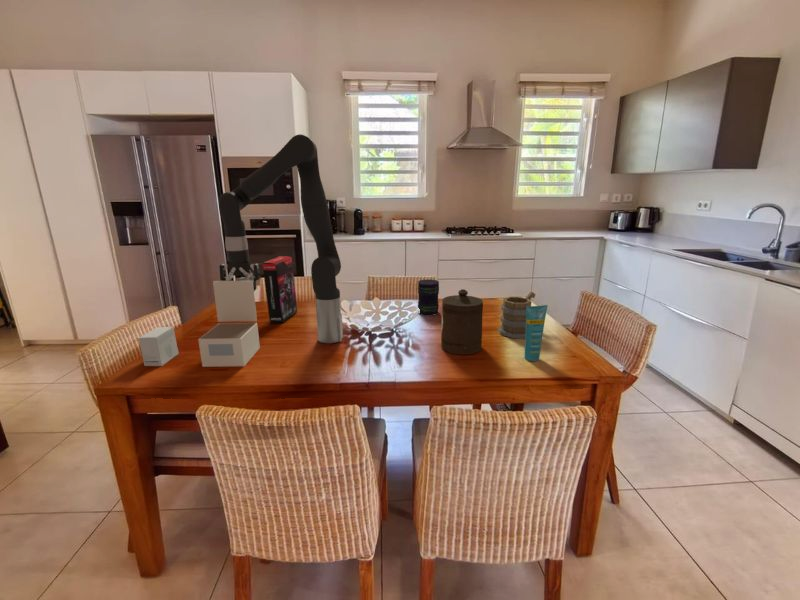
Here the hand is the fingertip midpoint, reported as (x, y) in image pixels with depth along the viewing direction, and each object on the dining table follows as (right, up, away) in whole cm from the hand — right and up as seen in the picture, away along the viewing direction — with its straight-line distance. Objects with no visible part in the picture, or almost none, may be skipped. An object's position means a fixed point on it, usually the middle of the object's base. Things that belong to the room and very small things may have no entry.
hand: (242, 291), depth 152 cm
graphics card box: (+6, -12, +33) cm, 36 cm away
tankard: (+109, -16, +14) cm, 111 cm away
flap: (0, -4, -7) cm, 8 cm away
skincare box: (-24, -24, -11) cm, 36 cm away
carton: (0, -23, -9) cm, 25 cm away
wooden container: (+82, -21, -2) cm, 85 cm away
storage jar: (+73, -9, +39) cm, 83 cm away
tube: (+105, -24, -13) cm, 109 cm away
